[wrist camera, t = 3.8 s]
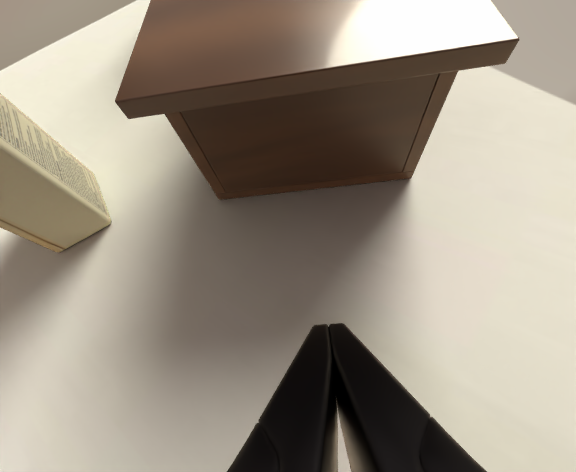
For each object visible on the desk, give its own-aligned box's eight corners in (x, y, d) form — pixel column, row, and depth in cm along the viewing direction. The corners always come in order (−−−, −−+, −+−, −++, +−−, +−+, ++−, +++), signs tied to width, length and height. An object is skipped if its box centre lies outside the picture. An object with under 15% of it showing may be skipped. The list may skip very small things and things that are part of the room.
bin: (411, 178, 19) (478, 25, 10) (218, 200, 20) (141, 79, 12) (384, 91, 23) (417, -69, 14) (226, 114, 24) (172, -21, 16)
